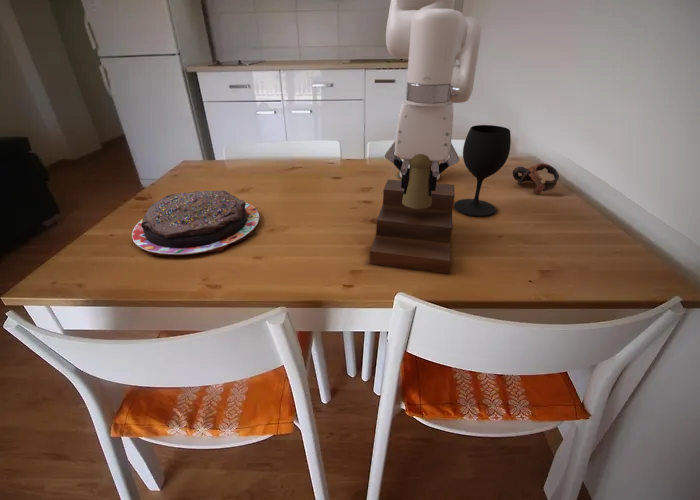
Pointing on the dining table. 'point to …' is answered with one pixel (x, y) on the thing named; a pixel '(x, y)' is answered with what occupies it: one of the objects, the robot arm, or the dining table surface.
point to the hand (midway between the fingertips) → (417, 191)
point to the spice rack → (414, 231)
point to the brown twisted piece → (536, 176)
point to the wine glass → (483, 163)
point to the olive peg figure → (418, 183)
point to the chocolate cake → (195, 223)
